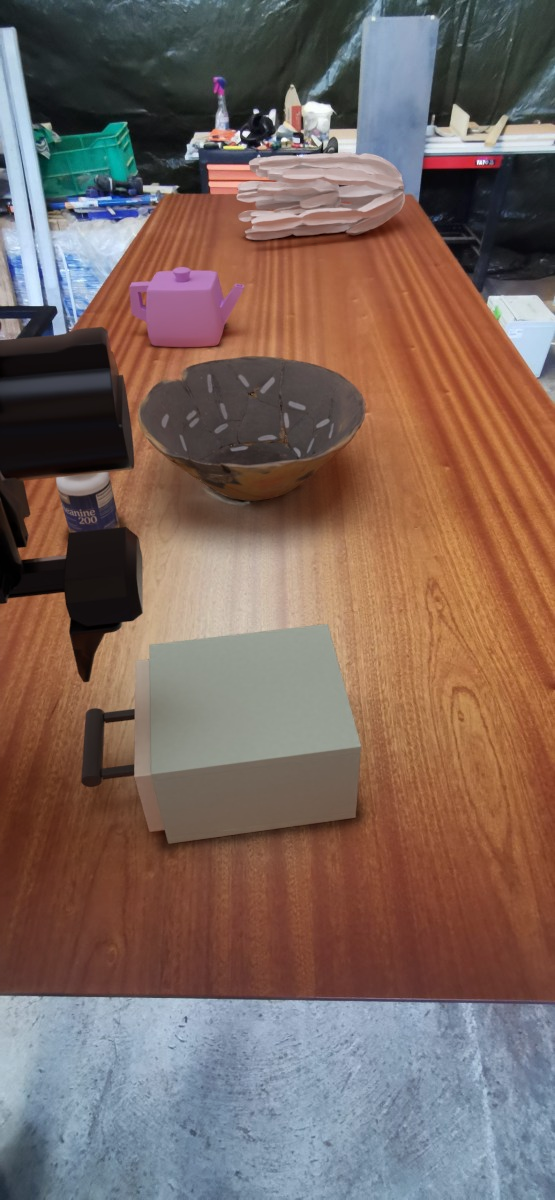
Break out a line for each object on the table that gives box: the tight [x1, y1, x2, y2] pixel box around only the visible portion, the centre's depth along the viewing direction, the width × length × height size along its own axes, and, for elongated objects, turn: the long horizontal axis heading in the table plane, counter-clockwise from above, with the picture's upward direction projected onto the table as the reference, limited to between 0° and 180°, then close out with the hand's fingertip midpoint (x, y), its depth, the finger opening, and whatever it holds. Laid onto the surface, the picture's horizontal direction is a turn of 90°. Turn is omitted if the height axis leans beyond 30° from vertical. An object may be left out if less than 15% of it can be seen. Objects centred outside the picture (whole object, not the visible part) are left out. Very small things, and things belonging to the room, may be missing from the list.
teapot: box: [128, 266, 245, 348], centre depth 115 cm, size 18×10×10 cm, turn 86°
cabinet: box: [148, 623, 362, 845], centre depth 54 cm, size 14×12×9 cm
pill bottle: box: [55, 472, 120, 533], centre depth 77 cm, size 5×5×10 cm
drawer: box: [80, 658, 165, 833], centre depth 54 cm, size 17×10×7 cm, turn 98°
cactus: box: [235, 151, 406, 241], centre depth 151 cm, size 17×18×35 cm
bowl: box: [137, 355, 366, 502], centre depth 83 cm, size 25×25×10 cm
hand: (15, 685), depth 48 cm, fingers open, 9 cm apart
